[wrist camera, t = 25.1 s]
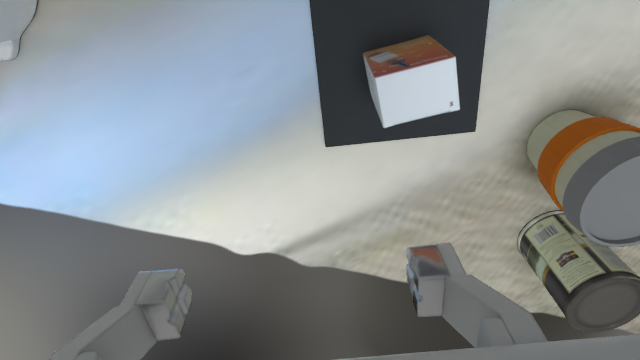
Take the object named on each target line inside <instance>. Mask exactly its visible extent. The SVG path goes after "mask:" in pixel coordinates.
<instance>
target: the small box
mask: <svg viewBox="0 0 640 360" xmlns="http://www.w3.org/2000/svg"><path fill="white" fill-rule="evenodd" d="M363 57H364V62H365V68H366V73H367V78H368V83H369V88H370V92H371V96H372V99H373V102H374V104H375V107H376V110H377V112H378V115H379V117H380V120H381V123H382V126H383V128H387V127H390V126H394V125H397V124H401V123H405V122H409V121H413V120H417V119H421V118H425V117H429V116H433V115H438V114H442V113H447V112H452V111H457V110H460V103H459V91H458V79H457V67H456V57H455V56H454V55H453V54H452V53H451V52H449V51H448V50H447V49H446V48H444V47H443V46H442V45H441V44H439V43H438V42H437V41H436V40H434V39H433V38H432V37H431V36H429V35H426V36H423V37H419V38H416V39H413V40H409V41H406V42H402V43H398V44H394V45H390V46H386V47H383V48H379V49H375V50H371V51H367V52H364V53H363Z"/></svg>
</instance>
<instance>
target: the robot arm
mask: <svg viewBox="0 0 640 360" xmlns="http://www.w3.org/2000/svg"><path fill="white" fill-rule="evenodd" d="M36 5H37V0H0V61H7V60H12V59H15V58H16V56H17V54H18V50H19V43H20V37H21V35H22V33H23V31H24V30H25V29H26V28H27V26H28V25H29V24H30V22H31V20H32V18H33V16H34V14H35V10H36ZM407 259H408V262H409V263H408V264H407V265H406V269H407V281H408V285H409V289H410V292H411V293H413V303H414V306H415V309H416V313H417V316H418V317H426V316H443V318H445V319H446V320H447V321H448V322H449V323H450V324H451V325H452V326H453V327H454V328H455V329H456V330H457V331H458V332H459V333H460V334H461V335H462V336H463V337H465V338H466V339H467V340H468V341H469V342H470V343H471V344H472V345H473V346H474V347H475V348H469V349H456V350H444V351H432V352H421V353H408V354H398V355H385V356H373V357H361V358H350V359H349V358H348V359H337V360H640V334H636V335H624V336H612V337H600V338H589V339H576V340H564V341H552V342H548V341H547V339H546V337H545V336H544V334H543V332H542V331H541V329H540V327H539V326H538V324H537V322H536V321H535V319H534V318H533V316H532V314H531V313H530V312H528V311H527V310H525V309H524V308H522V307H521V306H519V305H517V304H516V303H514V302H513V301H511V300H510V299H508V298H507V297H505V296H503V295H502V294H500V293H499V292H497V291H496V290H494V289H492V288H491V287H489V286H488V285H486V284H485V283H483V282H482V281H480V280H478V279H477V278H475V277H474V276H472V275H466V273H465V271H464V269H463V267H462V265H461V263H460V261H459V259H458V256H457V254H456V252H455V250H454V248H453V246H452V244H451V243H442V244H435V245H425V246H415V247H407ZM184 279H185V275H184V272H183V270H182V269H170V270H155V271H144V272H139V273H138V274H137V275H136V277H135V278H134V280H133V282H132V284H131V286H130V287H129V289H128V291H127V293H126V295H125V297H124V298H123V300H122V302H121V304H120V306H118V307H114V308H113V309H111V310H110V311H109V312H107V313H106V314H105V315H104V316H102V317H101V318H99V319H98V320H97V321H96V322H94V323H93V324H92V325H90V326H89V327H88V328H86V329H85V330H84V331H82V332H81V333H80V334H78V335H77V336H76V337H74V338H73V339H72V340H70V341H69V342H68V343H66V344H65V345H64V346H63V347H61V348H60V349H58V350H57V351H56V352H54V353H53V354H52V356H51V357H50V359H49V360H140V359H141V358H142V357H143V356H144V355H145V354H146V353H147V351H148V350H149V349H150V348H151V347H152V346H153V345H154V344H155V343H156V340H164V339H173V338H180V336H181V333H182V331H183V328H184V325H185V319H184V316H185V315H186V314H187V313H188V312H189V310H190V307H191V301H192V294H191V289H190V287H189V285H188V284H186V283H185V282H184Z"/></svg>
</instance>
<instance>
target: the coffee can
mask: <svg viewBox="0 0 640 360" xmlns="http://www.w3.org/2000/svg"><path fill="white" fill-rule="evenodd" d="M518 249H519V252H520V253H521V254H522V255H523V256H524V258H525V259H526V261H527V262H528V264H529V265H530V266H531V268H532V269H533V271H534V272H535V273H536V275H537V276H538V278H539V279H540V280H541V282H542V283H543V285H544V286H545V287H546V289H547V290H548V292H549V293H550V295H551V296H552V298H553V299H554V301H555V302H556V303H557V305H558V306H559V308H560V309H561V310H562V312H563V313H564V315H565V317H566V319H567V321H568V322H569V324H570V325H571V326H572V327H574V328H576V329H578V330H581V331H585V332H601V331H606V330H611V329H614V328H617V327H619V326H622V325H624V324H626V323H628V322H630V321H631V320H633V319H634V318H636V317H637V316H638V315H639V314H640V277H639V276H637V275H636V274H635V273H634V272H633V271H632V270H631V269H630V268H629V267H628V266H627V265H626V264H625V263H624V262H623V261H622V260H621V259H620V258H619V257H618V256H617V255H616V254H615V253H614V252H613V251H612V250H611V249H610V248H609V247H608V246H604V245H601V244H598V243H595V242H594V241H592V240H591V239H589V238H588V237H587V236H585V235H584V234H583V233H582V232H580V231H579V230H578V229H577V228H575V227H574V226H573V225H572V224H571V223H570V222H569V221H568V220H567V218H566V216H565V214H564V211H553V212H548V213H545V214H543V215H541V216H539V217H537V218H535V219H533V220H532V221H531V222H529V223H528V224H527V225H526V226H525V227H524V229H523V230H522V231H521V233H520V235H519V238H518Z"/></svg>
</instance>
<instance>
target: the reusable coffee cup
mask: <svg viewBox="0 0 640 360" xmlns="http://www.w3.org/2000/svg"><path fill="white" fill-rule="evenodd" d="M527 155H528V157H529V160H530V161H531V162H532V164H533V165H534V167H535V168H536V170H537V171H538V177H539V179H540V181H541V183H542V185H543V186H544V188H545V189H546V191H547V192H548V194H549V195H550V196H551V198H552V199H553V201H554V202H555V204H556V205H557V206H558V207H559V208H560V209H561V210H563V211H564V214H565V216H566V218H567V220H568V221H569V222H570V223H571V224H572V225H573V226H574V227H575V228H577V229H578V230H579V231H580V232H582V233H583V234H584V235H585V236H587V237H588V238H589V239H591V240H592V241H594V242H595V243H598V244H601V245H604V246H610V247H624V246H631V245H636V244H639V243H640V129H639V128H637V127H634V126H631V125H628V124H625V123H622V122H620V121H617V120H614V119H611V118H606V117H595V116H592V115H589V114H586V113H584V112H581V111H576V110H566V111H560V112H558V113H555V114H553V115H551V116H549V117H547V118H546V119H544V120H543V121H542V122H541V123H540V124H538V125H537V126H536V128H535V129H534V130H533V132H532V133H531V135H530V137H529V140H528V143H527Z"/></svg>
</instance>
